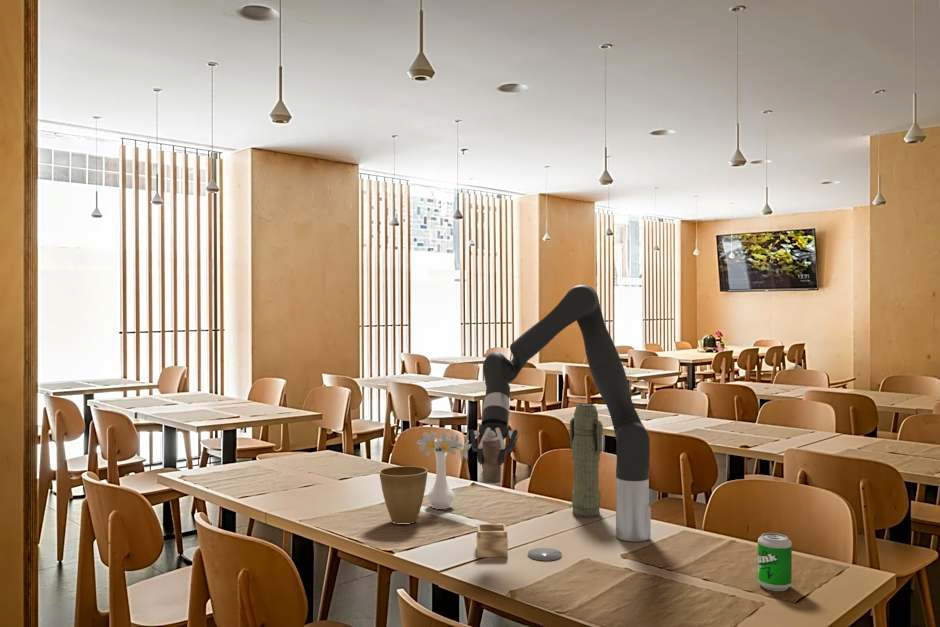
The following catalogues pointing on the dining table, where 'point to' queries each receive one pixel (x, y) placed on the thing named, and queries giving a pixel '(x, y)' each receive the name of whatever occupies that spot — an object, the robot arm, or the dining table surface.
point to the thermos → (586, 459)
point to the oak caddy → (492, 540)
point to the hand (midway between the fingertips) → (490, 463)
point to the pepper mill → (491, 458)
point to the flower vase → (441, 466)
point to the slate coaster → (544, 554)
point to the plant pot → (403, 491)
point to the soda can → (774, 561)
